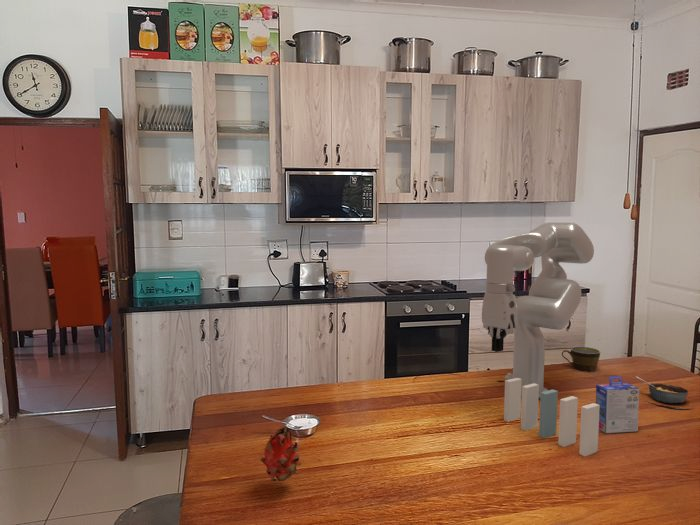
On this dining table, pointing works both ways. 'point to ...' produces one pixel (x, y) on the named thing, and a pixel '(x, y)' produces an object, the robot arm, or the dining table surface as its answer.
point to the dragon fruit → (281, 456)
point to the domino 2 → (529, 406)
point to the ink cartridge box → (617, 406)
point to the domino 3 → (548, 413)
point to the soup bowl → (667, 394)
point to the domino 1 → (512, 399)
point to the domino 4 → (568, 421)
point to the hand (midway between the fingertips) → (497, 350)
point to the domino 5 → (589, 429)
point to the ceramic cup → (584, 358)
